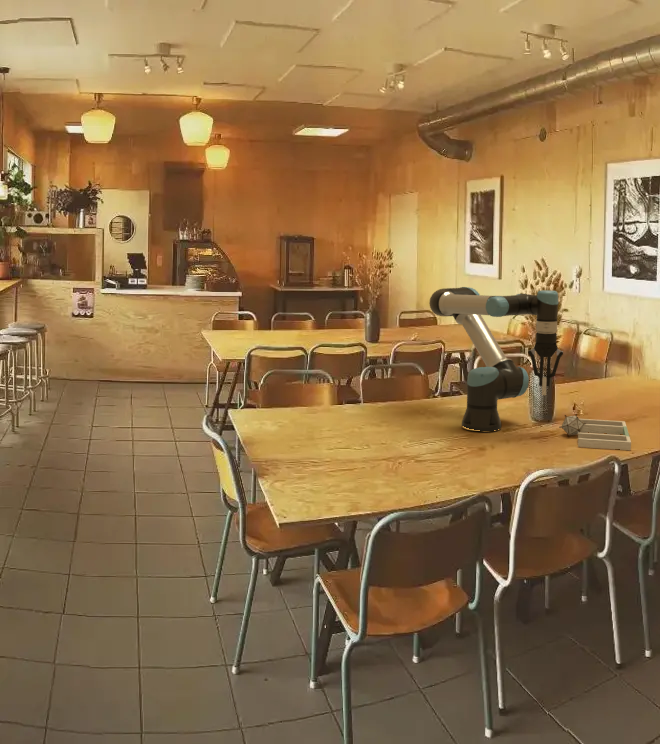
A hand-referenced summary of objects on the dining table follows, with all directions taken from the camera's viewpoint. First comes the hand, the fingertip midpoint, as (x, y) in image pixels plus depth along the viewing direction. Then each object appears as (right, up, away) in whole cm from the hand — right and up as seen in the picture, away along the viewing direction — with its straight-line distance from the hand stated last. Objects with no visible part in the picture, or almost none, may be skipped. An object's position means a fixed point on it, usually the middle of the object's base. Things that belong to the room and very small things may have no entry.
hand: (543, 394), depth 308 cm
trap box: (+20, -16, -3) cm, 26 cm away
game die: (+10, -16, 0) cm, 19 cm away
